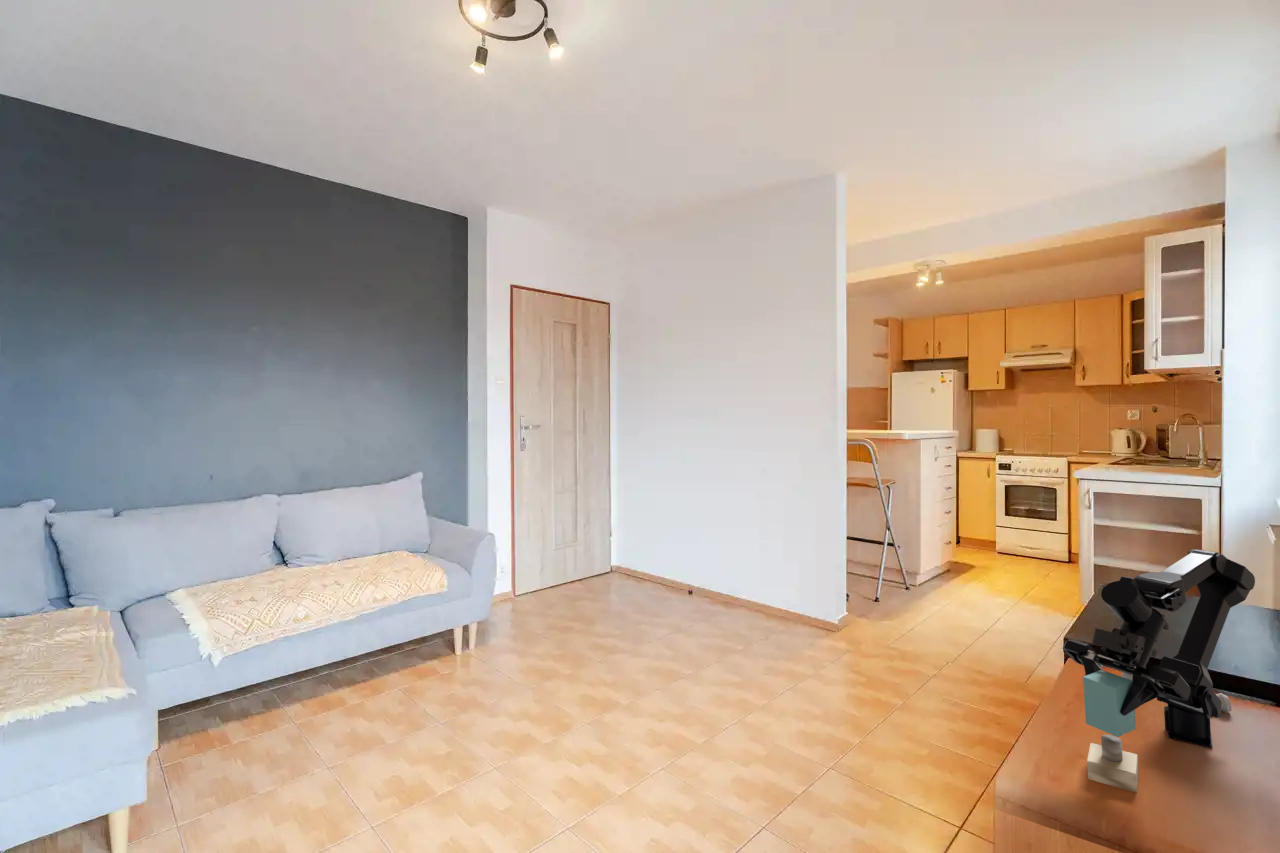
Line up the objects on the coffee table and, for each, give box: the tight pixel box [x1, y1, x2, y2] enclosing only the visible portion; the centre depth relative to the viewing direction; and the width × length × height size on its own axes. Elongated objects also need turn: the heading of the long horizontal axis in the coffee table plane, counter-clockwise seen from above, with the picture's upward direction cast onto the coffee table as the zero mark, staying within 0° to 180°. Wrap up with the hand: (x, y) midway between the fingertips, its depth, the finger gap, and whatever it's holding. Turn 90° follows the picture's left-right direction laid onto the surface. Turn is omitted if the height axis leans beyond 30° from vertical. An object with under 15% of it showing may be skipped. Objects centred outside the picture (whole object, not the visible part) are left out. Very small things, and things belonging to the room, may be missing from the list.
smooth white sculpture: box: [1216, 692, 1232, 714], centre depth 130 cm, size 4×8×5 cm
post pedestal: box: [1086, 734, 1139, 794], centre depth 111 cm, size 7×7×7 cm
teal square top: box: [1082, 669, 1137, 738], centre depth 111 cm, size 5×5×9 cm
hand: (1104, 707), depth 110 cm, fingers closed on teal square top, 5 cm apart
